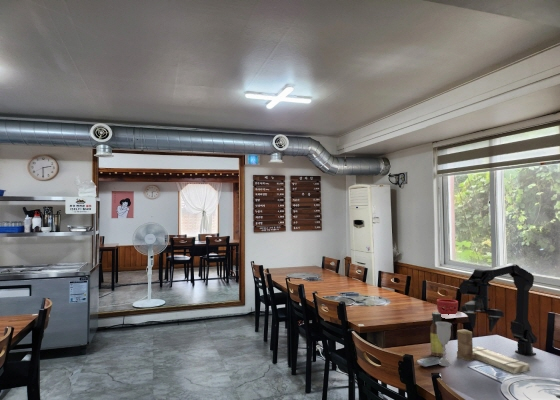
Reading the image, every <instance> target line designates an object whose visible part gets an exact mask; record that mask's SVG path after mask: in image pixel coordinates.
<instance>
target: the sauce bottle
mask: <svg viewBox="0 0 560 400" xmlns="http://www.w3.org/2000/svg"><path fill="white" fill-rule="evenodd" d="M431 316H432V323H431V325H430V327H429V329H430V333H429V335H430V336H429V339H430V351H431V352H430V353H431V355H432V356H434V357H437V356H439V358H443V353H442V352H443V349H442V348H443V344H441V343H440V340H439V338H438V336H437V325H436V322H442V318H441V313H439V312H436V311H435V312H432V313H431Z"/></svg>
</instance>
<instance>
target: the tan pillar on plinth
mask: <svg viewBox="0 0 560 400" xmlns="http://www.w3.org/2000/svg"><path fill="white" fill-rule="evenodd" d="M456 332H457V333H456V334H457V351H456V356H457V358H459V359H462V360H464V361H467V362H469V361H470V362H471V361H475V360H477V359H476V358H475V354H474V353H473V348H474V347H473V331H470V330H468V329H458V330H457V331H456Z"/></svg>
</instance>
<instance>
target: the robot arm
mask: <svg viewBox="0 0 560 400" xmlns="http://www.w3.org/2000/svg"><path fill="white" fill-rule="evenodd" d="M508 274H509V276H510V277H511V278H512V280H513V284H514V286H515V288H516V302H515V303H516V305H515V307H516V309H515V310H516V311H515V319H514V320H513V321H512V320H511V321H510V329H509V330H510V332H511V334H512V337H513V339H516V340H517V349H516V350H515V351H514V352H515V353H518V354H520V355H524V356H526V357H529V356H535V355H537V353H536V352H534V349H533V344H536V343H537V341H538V338H537V335H535V334H534V333H533V331H532V329H533V328H532V325H531V323H530V322H529V302H530V301H529V300H530V298H529V297H530V290H531V289H532V287H533V286H534V281H535V278H534V275H533V274H532V273H531V272H529V271H528V270H526V269H524V268H522V267H520V266H519V265H518V264H516V263H506V264H503V265H498V266H495V267H490V268H475V269H474V270H473V273H472V274H471V275H470V276H469V278H468V279H464V278H463V280H462V282H460V284H459V286H458V288H459V293H460V294H462V295H468V296H472V298H471V299H472V300H470V301H467V302H464V305H463V304H462V306H461V307H460V311H461V312H463V314H465V316H467V318H468V321H469V323H470V326H471V328H472V329H475V327H476V321H477V313H481V314H487V315H486V317H487V319H488V330H489V332H490V333H491V332H493V331H494V328H495V326H496V325H497V323H498V322H499V320H500V319H502V318H504V315H505V314H504V311H503V310H501V309H495V308H494V309H493V308H491V307H489V302H491V298H489V288H492V287H493V285H492V284H491V283H489V282H491V281H493V280H494V279H495V278H497V277H500V276H501V277H502V276H504V275H505V276H506V275H508Z"/></svg>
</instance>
